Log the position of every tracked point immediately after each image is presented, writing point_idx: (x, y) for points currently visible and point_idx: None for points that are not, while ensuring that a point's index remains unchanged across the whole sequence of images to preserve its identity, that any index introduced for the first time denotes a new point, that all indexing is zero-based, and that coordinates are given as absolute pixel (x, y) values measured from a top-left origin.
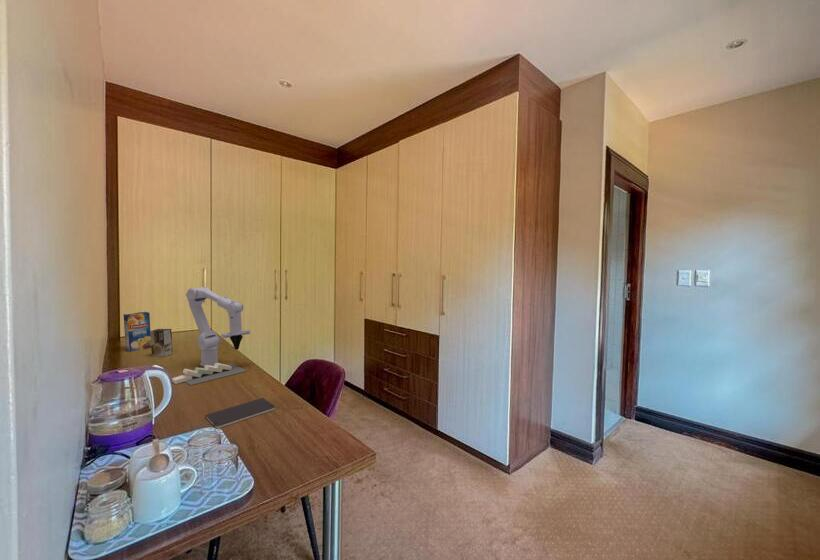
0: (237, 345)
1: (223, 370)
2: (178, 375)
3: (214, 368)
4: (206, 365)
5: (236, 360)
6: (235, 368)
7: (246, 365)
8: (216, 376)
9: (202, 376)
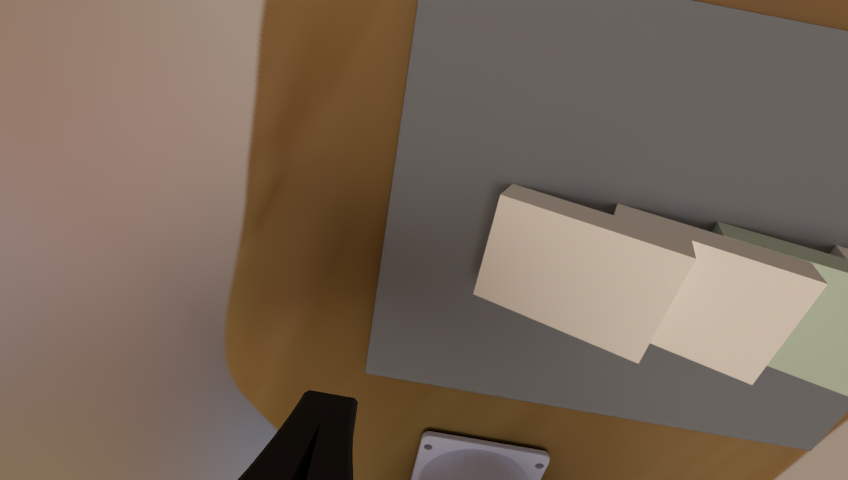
0: (299, 472)
1: None
2: (803, 447)
3: (729, 249)
4: (769, 359)
5: (281, 413)
6: (443, 195)
7: (294, 207)
8: (764, 113)
9: None
